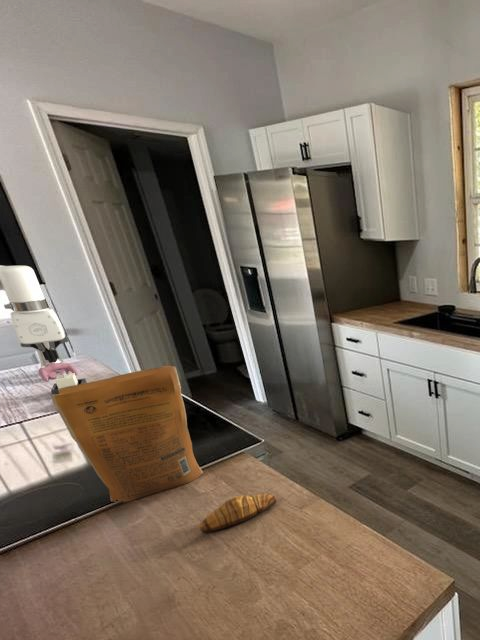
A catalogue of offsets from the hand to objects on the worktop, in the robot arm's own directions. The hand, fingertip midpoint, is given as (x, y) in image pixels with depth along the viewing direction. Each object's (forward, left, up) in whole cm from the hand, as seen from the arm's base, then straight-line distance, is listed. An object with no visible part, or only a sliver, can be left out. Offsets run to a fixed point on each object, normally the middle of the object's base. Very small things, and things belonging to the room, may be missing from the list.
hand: (53, 361), depth 136 cm
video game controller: (-5, +36, -14) cm, 39 cm away
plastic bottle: (-7, +46, -14) cm, 49 cm away
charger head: (-1, +11, -13) cm, 17 cm away
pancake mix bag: (+21, -86, -14) cm, 90 cm away
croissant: (+33, -110, -14) cm, 116 cm away
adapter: (0, +11, -14) cm, 18 cm away
